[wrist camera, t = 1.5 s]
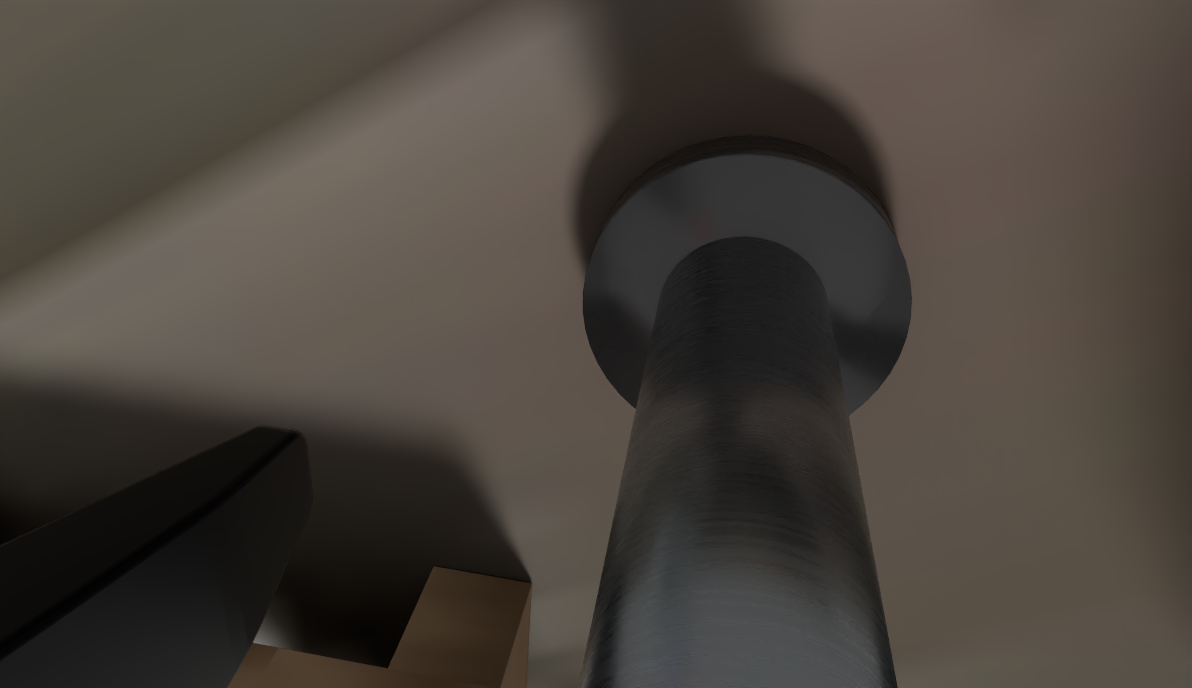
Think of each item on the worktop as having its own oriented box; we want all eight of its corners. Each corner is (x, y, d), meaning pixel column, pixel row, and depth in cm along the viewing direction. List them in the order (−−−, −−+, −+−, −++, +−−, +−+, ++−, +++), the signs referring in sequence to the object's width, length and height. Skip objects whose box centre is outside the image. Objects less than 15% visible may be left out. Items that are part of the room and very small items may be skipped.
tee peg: (938, 157, 12) (1486, 1003, 3) (860, 430, 14) (1041, 1354, 5) (605, 117, 12) (242, 756, 3) (583, 388, 14) (335, 1177, 6)
